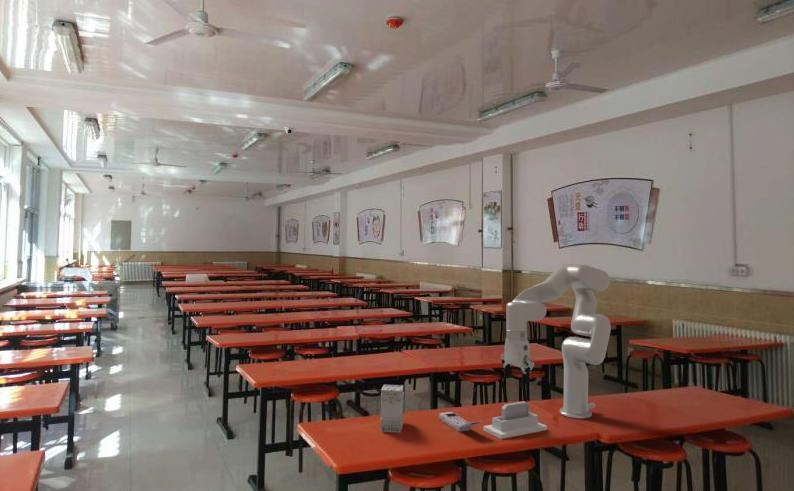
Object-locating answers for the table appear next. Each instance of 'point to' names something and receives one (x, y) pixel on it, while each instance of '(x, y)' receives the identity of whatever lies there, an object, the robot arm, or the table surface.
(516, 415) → the grey flat plate
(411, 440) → the table surface
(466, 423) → the mobile phone
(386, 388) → the circuit breaker
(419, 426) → the table surface
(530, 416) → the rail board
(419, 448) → the table surface
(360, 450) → the table surface
